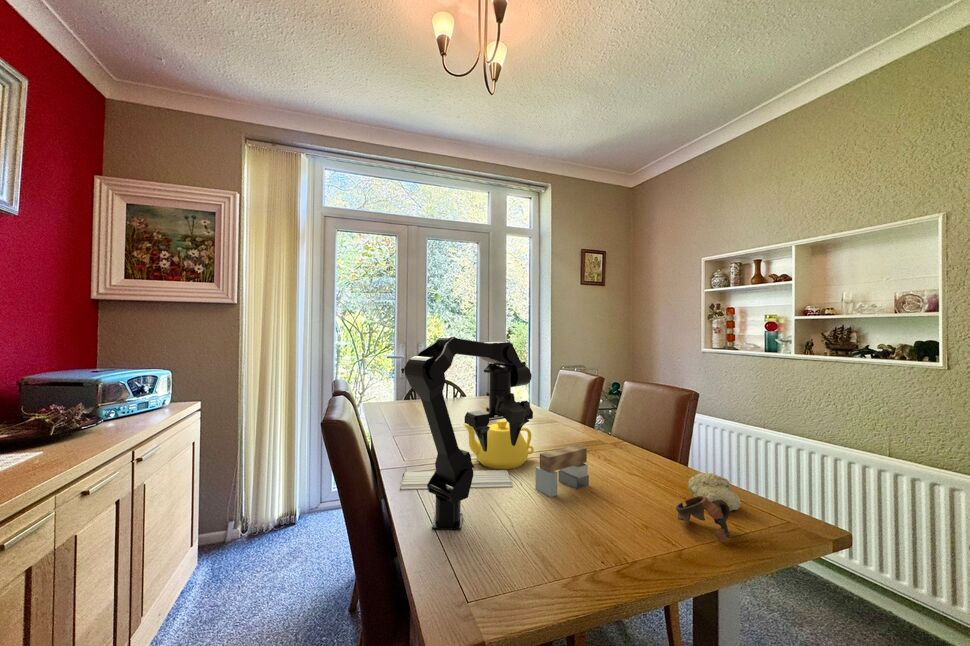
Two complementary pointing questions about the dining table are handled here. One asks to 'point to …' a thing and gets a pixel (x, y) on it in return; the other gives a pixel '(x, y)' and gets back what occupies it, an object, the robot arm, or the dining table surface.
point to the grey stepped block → (575, 476)
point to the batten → (563, 458)
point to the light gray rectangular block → (546, 482)
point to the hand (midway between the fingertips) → (499, 448)
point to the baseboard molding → (479, 481)
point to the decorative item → (713, 489)
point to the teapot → (501, 447)
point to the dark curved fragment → (700, 503)
